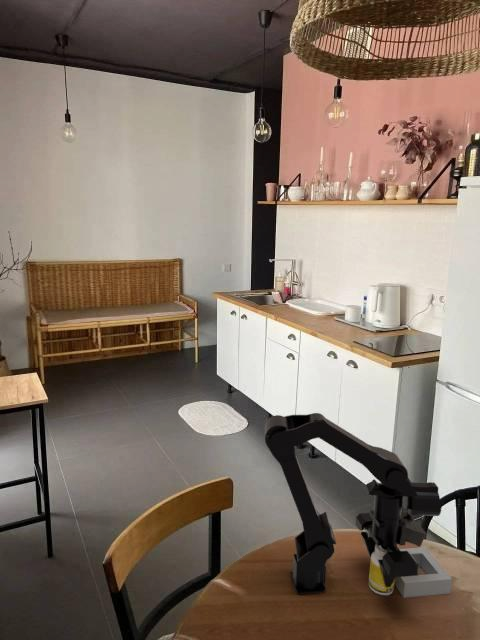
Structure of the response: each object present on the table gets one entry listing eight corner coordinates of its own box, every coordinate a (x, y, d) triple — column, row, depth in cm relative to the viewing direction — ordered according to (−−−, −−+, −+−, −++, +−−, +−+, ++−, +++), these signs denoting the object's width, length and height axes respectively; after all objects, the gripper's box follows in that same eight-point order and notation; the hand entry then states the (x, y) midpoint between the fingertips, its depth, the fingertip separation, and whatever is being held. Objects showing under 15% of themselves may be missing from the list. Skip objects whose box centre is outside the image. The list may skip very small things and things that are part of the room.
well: (403, 597, 101) (404, 583, 100) (381, 563, 112) (382, 550, 111) (450, 593, 103) (452, 579, 102) (424, 560, 113) (425, 547, 113)
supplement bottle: (388, 600, 100) (392, 558, 99) (364, 588, 103) (367, 548, 102) (397, 586, 104) (400, 546, 103) (373, 575, 108) (377, 536, 106)
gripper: (446, 535, 93) (439, 605, 96) (401, 488, 111) (396, 548, 114) (393, 539, 91) (387, 610, 94) (356, 490, 110) (352, 551, 112)
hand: (381, 577), depth 103 cm, fingers closed on supplement bottle, 5 cm apart
